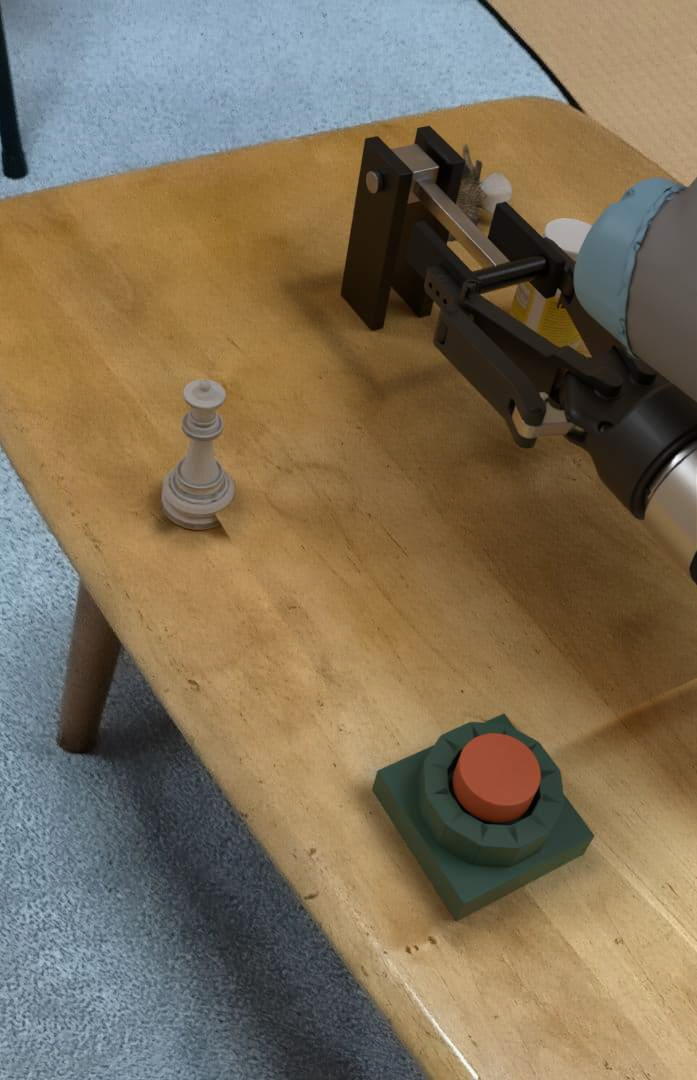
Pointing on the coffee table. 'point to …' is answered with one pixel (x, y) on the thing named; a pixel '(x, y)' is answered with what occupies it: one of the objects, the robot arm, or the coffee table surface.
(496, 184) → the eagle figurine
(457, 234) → the press lever
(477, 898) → the button base
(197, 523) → the chess piece
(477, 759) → the button
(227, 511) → the coffee table surface
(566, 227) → the supplement bottle
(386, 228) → the press bracket
